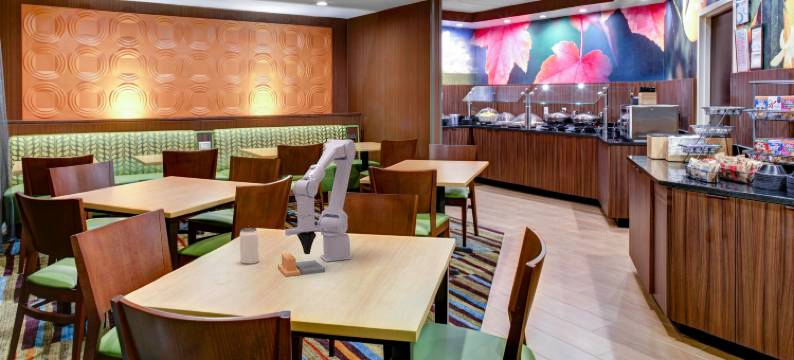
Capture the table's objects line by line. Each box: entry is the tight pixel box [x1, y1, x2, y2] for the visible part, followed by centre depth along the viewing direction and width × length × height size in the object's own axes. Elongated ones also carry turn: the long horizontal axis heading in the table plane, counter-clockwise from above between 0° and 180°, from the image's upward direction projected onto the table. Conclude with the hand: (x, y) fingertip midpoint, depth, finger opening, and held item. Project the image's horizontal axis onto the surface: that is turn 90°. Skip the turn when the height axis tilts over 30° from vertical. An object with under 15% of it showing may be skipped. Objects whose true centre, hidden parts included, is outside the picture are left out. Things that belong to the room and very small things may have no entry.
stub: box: [277, 252, 301, 277], centre depth 209 cm, size 5×12×5 cm, turn 23°
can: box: [239, 227, 260, 265], centre depth 221 cm, size 6×6×12 cm
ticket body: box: [296, 259, 326, 275], centre depth 212 cm, size 8×12×1 cm, turn 23°
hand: (306, 253), depth 211 cm, fingers closed
